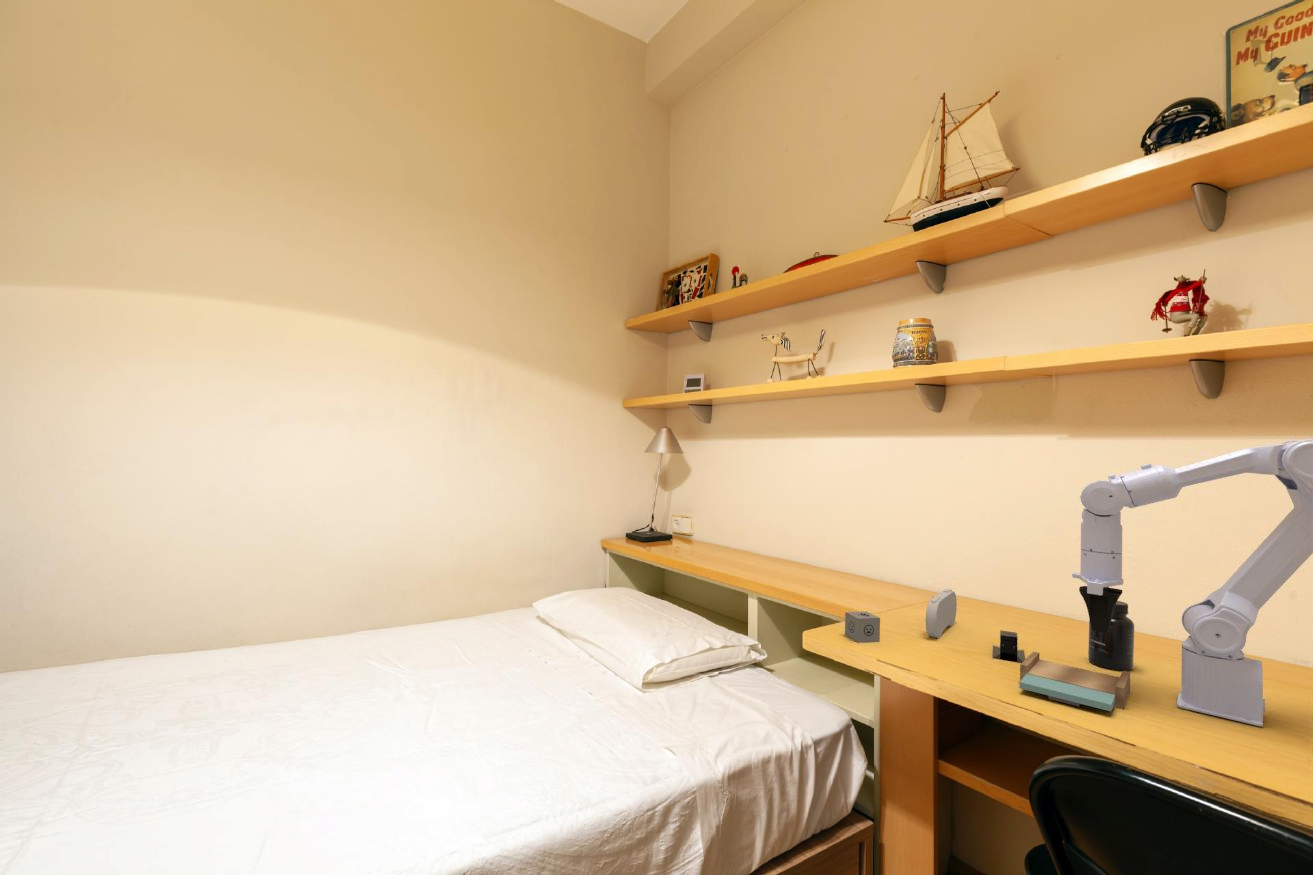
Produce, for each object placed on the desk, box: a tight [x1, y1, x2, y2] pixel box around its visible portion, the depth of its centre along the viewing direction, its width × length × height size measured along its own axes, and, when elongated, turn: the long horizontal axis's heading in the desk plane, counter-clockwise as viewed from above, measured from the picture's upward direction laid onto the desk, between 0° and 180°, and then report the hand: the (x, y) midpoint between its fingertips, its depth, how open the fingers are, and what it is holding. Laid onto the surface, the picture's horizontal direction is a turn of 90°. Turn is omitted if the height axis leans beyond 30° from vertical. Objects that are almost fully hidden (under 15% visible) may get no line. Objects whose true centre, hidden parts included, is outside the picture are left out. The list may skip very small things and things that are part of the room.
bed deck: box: [1019, 651, 1131, 710], centre depth 101 cm, size 14×10×3 cm
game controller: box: [925, 588, 958, 639], centre depth 133 cm, size 20×2×8 cm, turn 142°
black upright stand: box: [991, 629, 1026, 664], centre depth 118 cm, size 12×7×5 cm, turn 150°
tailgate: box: [1018, 674, 1115, 712], centre depth 95 cm, size 12×2×5 cm
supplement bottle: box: [1087, 600, 1135, 672], centre depth 113 cm, size 7×7×12 cm
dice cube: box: [844, 611, 881, 644], centre depth 125 cm, size 5×5×5 cm
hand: (1100, 630), depth 102 cm, fingers closed
